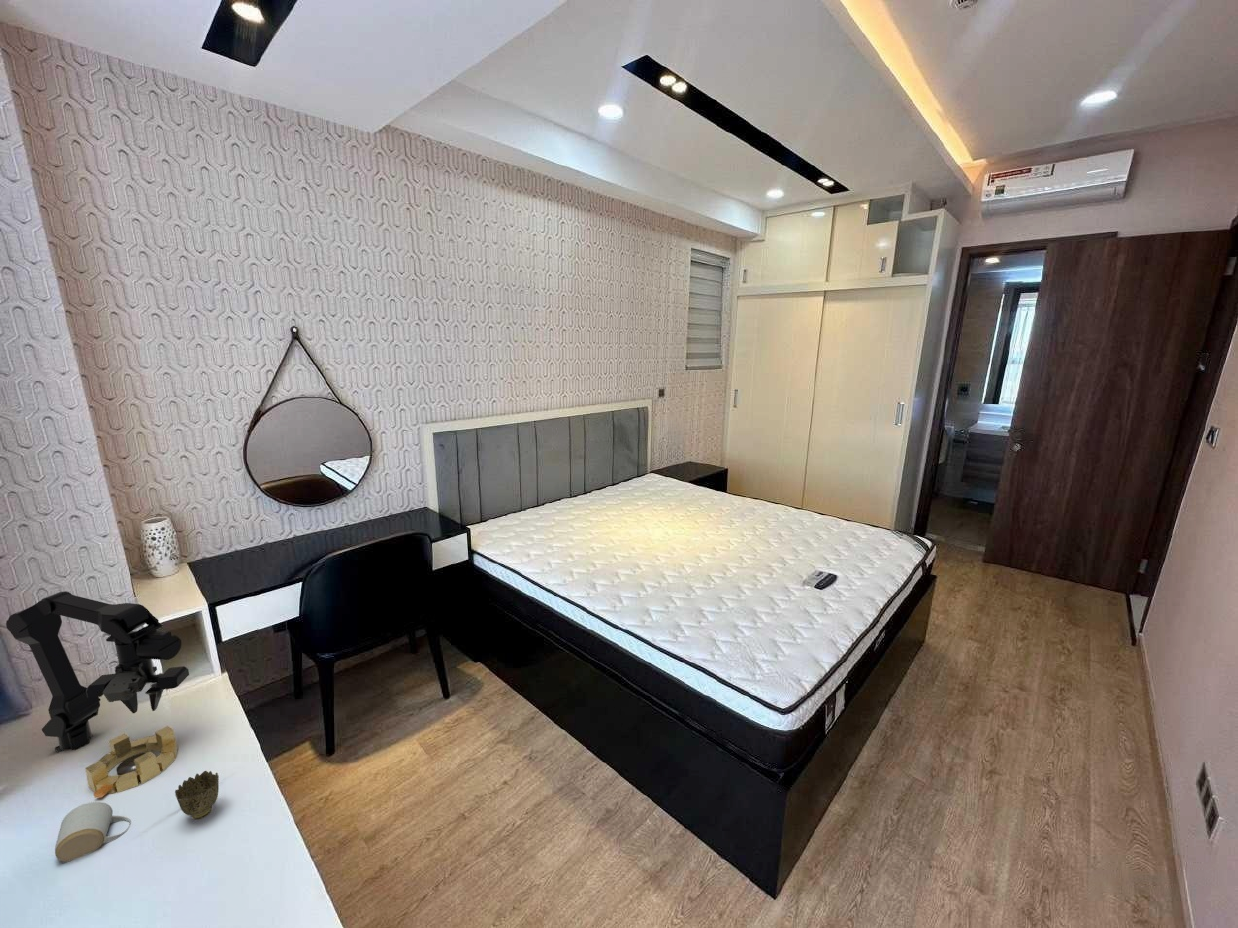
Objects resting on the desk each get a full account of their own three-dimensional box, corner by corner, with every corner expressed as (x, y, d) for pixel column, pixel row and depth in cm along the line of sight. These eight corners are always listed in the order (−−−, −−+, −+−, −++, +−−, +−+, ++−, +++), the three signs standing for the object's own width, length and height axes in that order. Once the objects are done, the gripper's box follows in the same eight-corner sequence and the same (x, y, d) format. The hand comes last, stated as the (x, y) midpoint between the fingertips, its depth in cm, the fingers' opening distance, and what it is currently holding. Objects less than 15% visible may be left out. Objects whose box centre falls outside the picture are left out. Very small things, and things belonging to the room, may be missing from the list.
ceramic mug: (56, 873, 100) (49, 841, 99) (65, 842, 106) (58, 812, 105) (129, 843, 107) (124, 812, 105) (134, 816, 113) (128, 787, 112)
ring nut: (72, 780, 120) (67, 761, 119) (158, 735, 135) (155, 718, 134) (102, 806, 114) (97, 786, 112) (189, 756, 128) (186, 738, 127)
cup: (231, 805, 116) (226, 775, 114) (195, 833, 109) (190, 802, 107) (208, 796, 118) (203, 766, 117) (172, 822, 111) (166, 791, 110)
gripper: (61, 680, 116) (75, 739, 119) (158, 670, 120) (169, 727, 123) (97, 653, 126) (109, 708, 129) (185, 644, 131) (194, 698, 134)
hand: (145, 711), depth 129 cm, fingers open, 4 cm apart
